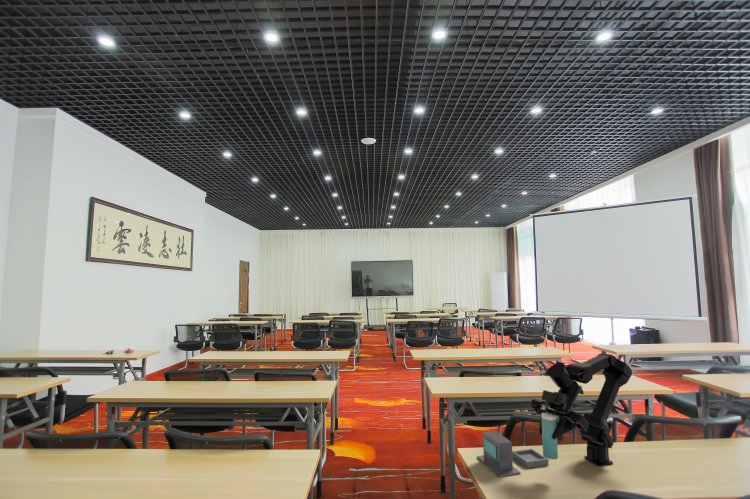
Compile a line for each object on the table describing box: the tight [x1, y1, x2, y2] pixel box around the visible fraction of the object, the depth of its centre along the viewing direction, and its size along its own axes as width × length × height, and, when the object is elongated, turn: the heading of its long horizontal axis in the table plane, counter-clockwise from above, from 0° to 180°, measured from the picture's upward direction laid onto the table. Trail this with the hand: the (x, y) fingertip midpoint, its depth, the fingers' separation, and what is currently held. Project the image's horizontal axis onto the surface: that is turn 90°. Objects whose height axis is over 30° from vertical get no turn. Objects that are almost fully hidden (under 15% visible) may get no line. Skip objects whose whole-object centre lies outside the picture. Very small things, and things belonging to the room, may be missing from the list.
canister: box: [541, 413, 559, 460], centre depth 121 cm, size 4×4×13 cm
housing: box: [476, 430, 521, 478], centre depth 129 cm, size 8×14×10 cm, turn 15°
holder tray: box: [512, 448, 550, 469], centre depth 131 cm, size 9×9×2 cm
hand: (546, 436), depth 120 cm, fingers closed on canister, 4 cm apart
